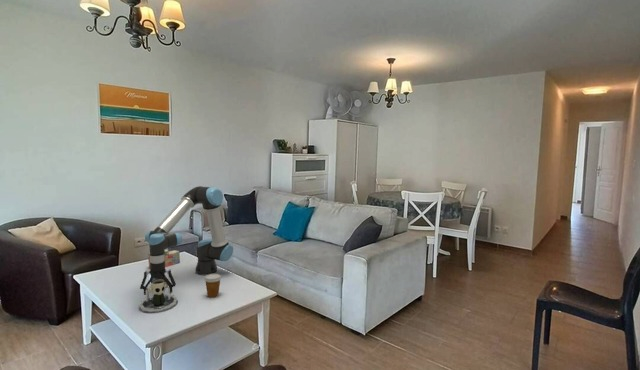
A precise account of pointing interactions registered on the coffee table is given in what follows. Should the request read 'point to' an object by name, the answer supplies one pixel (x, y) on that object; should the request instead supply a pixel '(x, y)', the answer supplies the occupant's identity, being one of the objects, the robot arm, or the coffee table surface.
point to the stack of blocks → (169, 258)
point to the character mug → (158, 291)
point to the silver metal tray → (151, 308)
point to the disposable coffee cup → (212, 284)
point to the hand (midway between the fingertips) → (158, 299)
